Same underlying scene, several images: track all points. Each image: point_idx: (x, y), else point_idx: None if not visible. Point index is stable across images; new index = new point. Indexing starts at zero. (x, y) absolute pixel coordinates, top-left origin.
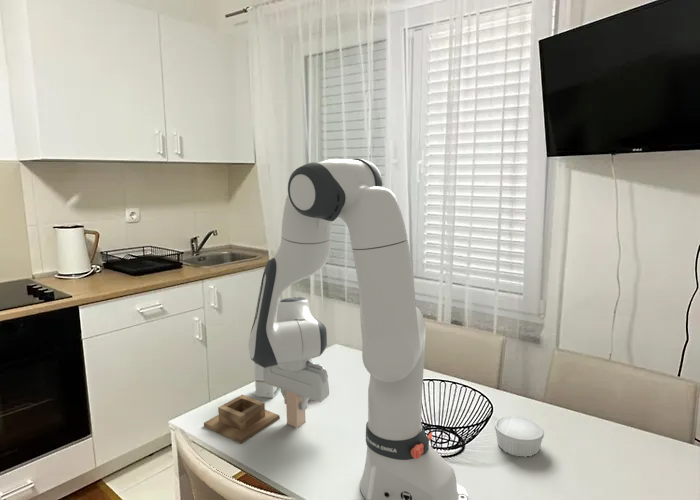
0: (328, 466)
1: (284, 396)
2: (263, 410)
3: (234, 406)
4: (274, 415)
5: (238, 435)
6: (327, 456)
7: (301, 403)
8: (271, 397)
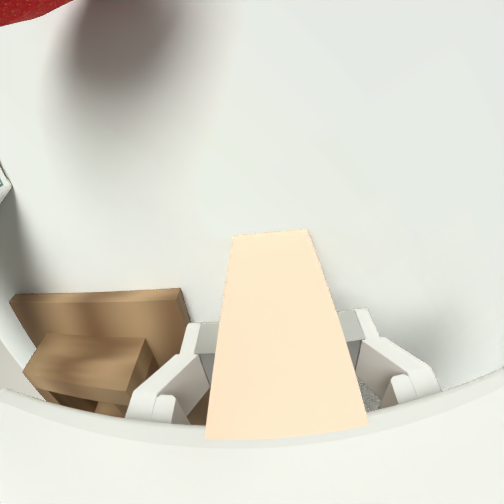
0: (484, 341)
1: (194, 401)
2: (139, 369)
3: (74, 401)
4: (161, 313)
5: (198, 421)
6: (477, 322)
7: (363, 381)
8: (7, 193)
